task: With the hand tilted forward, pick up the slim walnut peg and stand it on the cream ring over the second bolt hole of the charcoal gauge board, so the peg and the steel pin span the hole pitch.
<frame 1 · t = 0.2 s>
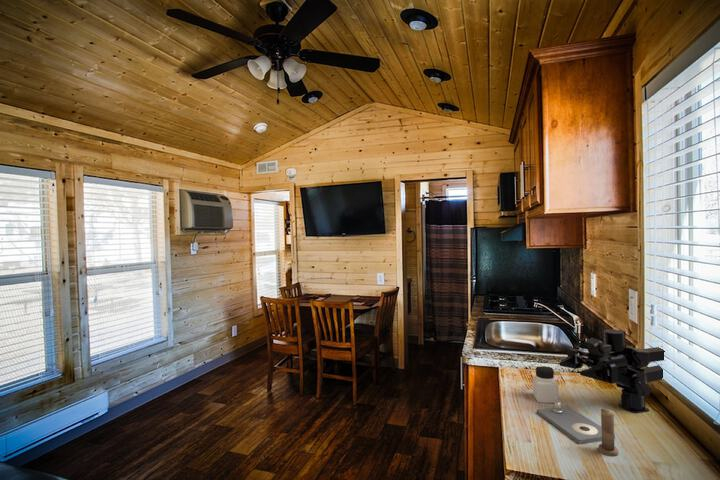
hand: (569, 368, 126), 17 cm above the counter, tool horizontal, fingers open, 9 cm apart
gauge board: (573, 425, 122), on the counter
medicine bottle: (545, 399, 141), on the counter
walnut peg: (608, 451, 107), on the counter
steel pin: (558, 414, 129), resting on gauge board
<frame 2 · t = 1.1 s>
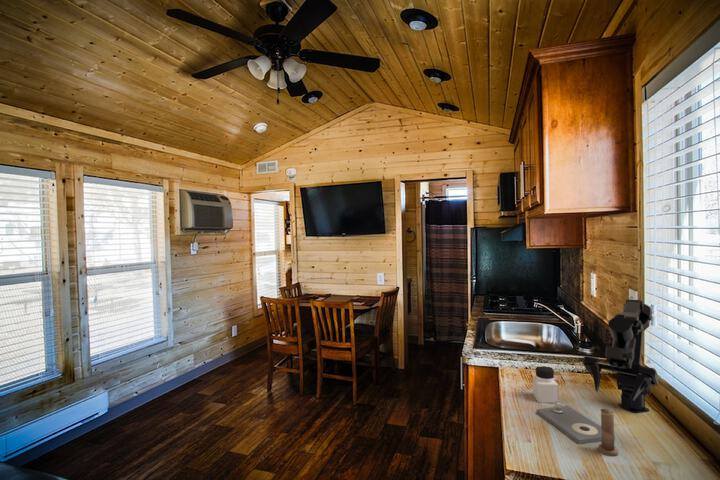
hand: (614, 395, 112), 14 cm above the counter, tool tilted 45°, fingers open, 9 cm apart
nothing on the counter moved.
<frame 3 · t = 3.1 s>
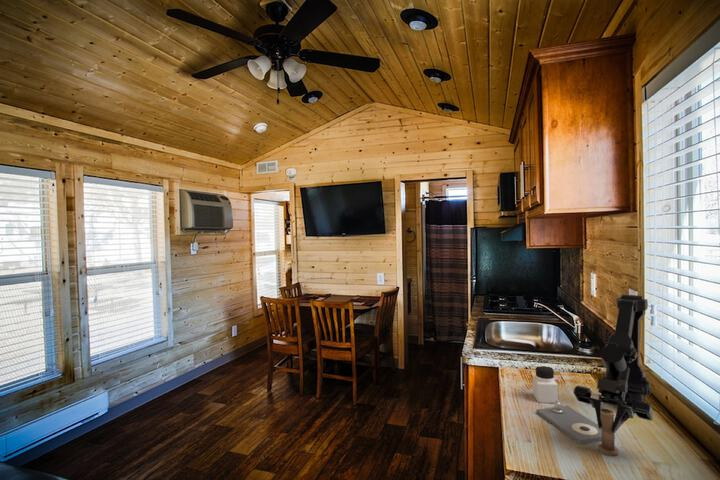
hand: (606, 430, 106), 7 cm above the counter, tool tilted 45°, fingers closed on walnut peg, 3 cm apart
walnut peg: (608, 451, 107), on the counter, touching gripper
everything else where it was.
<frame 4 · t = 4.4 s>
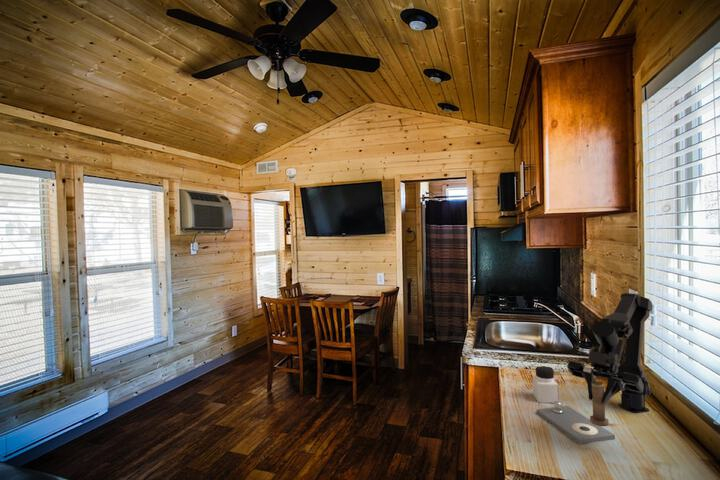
hand: (596, 401, 109), 13 cm above the counter, tool tilted 45°, fingers closed on walnut peg, 3 cm apart
walnut peg: (599, 422, 110), point 7 cm above the counter, touching gripper
everything else where it was.
when the fingers open (9 cm above the counter, at t = 5.9 s): walnut peg stays where it is, resting on gauge board.
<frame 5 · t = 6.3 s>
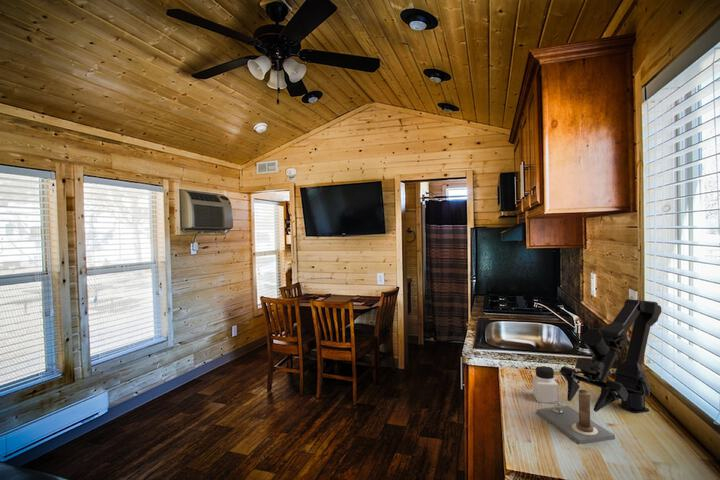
hand: (581, 405, 116), 9 cm above the counter, tool tilted 45°, fingers open, 8 cm apart
walnut peg: (584, 428, 117), point 1 cm above the counter, touching gauge board
everything else where it was.
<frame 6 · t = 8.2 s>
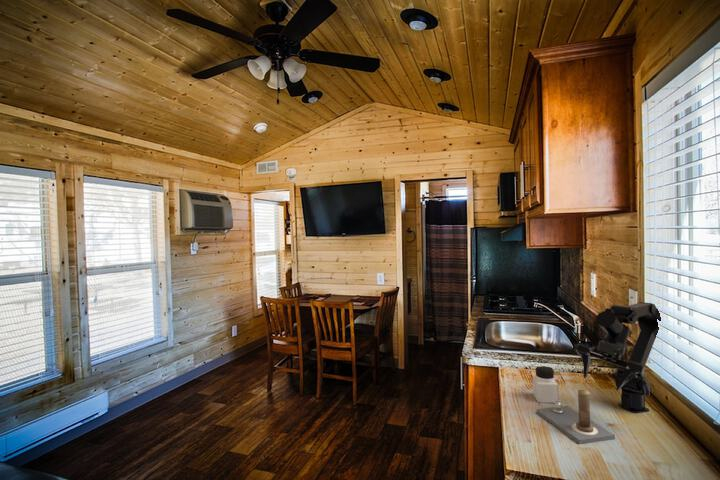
hand: (600, 384, 121), 13 cm above the counter, tool tilted 35°, fingers open, 9 cm apart
nothing on the counter moved.
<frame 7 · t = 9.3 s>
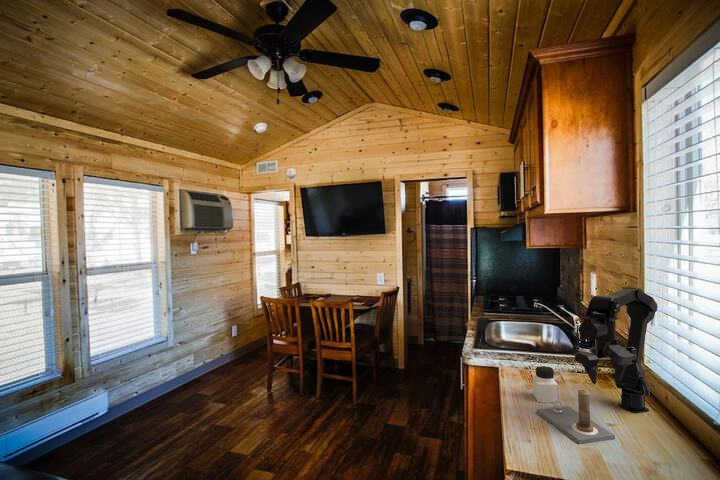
hand: (606, 382, 123), 13 cm above the counter, tool pointing down, fingers open, 9 cm apart
nothing on the counter moved.
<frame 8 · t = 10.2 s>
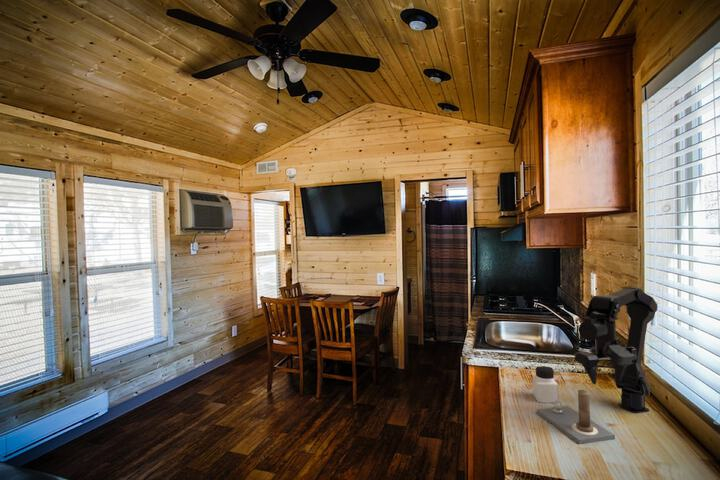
hand: (606, 382, 123), 13 cm above the counter, tool pointing down, fingers open, 9 cm apart
nothing on the counter moved.
at the end: walnut peg inside the target area (0.0 cm from its centre), point 1.4 cm above the counter; walnut peg tilted 0°; the gripper is holding nothing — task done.
